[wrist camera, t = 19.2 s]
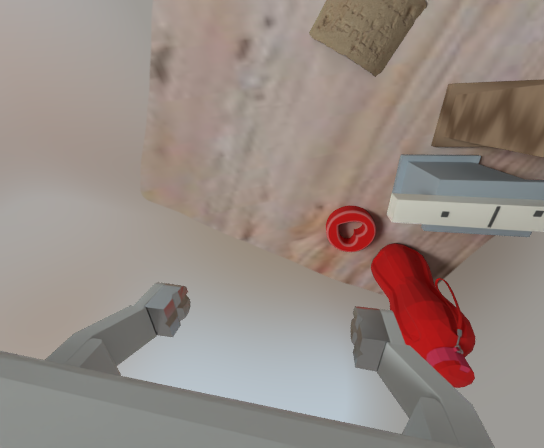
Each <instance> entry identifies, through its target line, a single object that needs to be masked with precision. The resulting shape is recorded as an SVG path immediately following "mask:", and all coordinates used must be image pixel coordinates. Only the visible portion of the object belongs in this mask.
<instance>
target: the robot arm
mask: <svg viewBox="0 0 544 448" xmlns="http://www.w3.org/2000/svg"><path fill="white" fill-rule="evenodd" d="M187 292H188V291H187V288H186V287H185V286H181V285H174V284H166V283H159V282H158V283H155V284H154V285H153V286H152V287H151V288H150V289H149V290H148V291H147V292H146V293H145V294H144V295H143V296H142V297H141V299H140V300H139V301H138V302H137V303H136V304H135V305H134V306H129V307H127V308H125V309H123V310H121V311H119V312H117V313H114V314H112V315H110V316H108V317H106V318H104V319H102V320H100V321H98V322H96V323H94V324H92V325H90V326H88V327H86V328H84V329H82V330H80V331H78V332H76V333H74V334H73V335H72V336H71V337H70V338H68V339H67V340H66V341H65V342H64V343H63V344H62V345H61V346H60V347H58V348H57V349H56V350H55V351H54V352H53V353H52V354H51V355H50V356H49V357H48V358H46V359H45V360H42V359H36V358H32V357H27V356H22V355H18V354H13V353H8V352H3V351H0V448H495V447H494V445H493V443H492V441H491V439H490V437H489V435H488V434H487V432H486V430H485V428H484V426H483V425H482V422H481V420H480V418H479V416H478V414H477V413H476V411H475V409H474V407H473V405H472V404H471V403H470V402H469V401H468V400H467V399H466V398H465V397H464V396H463V395H462V394H461V393H459V392H458V391H457V390H456V389H455V388H454V387H453V386H452V385H451V384H450V383H449V382H448V381H447V380H446V379H445V378H444V377H443V376H442V375H441V374H439V373H438V372H437V371H436V370H435V369H434V368H433V367H432V366H431V365H430V364H429V363H428V362H427V361H426V360H425V359H424V358H423V357H421V356H420V355H419V354H418V353H417V352H416V351H415V350H414V349H413V348H412V347H411V346H409V345H406V344H405V341H404V339H403V336H402V333H401V331H400V328H399V326H398V323H397V320H396V318H395V315H394V312H393V311H392V310H383V309H374V308H365V307H356V306H355V308H354V311H353V315H354V318H353V319H352V321H351V340H352V343H353V344H354V350H353V355H354V361H355V367H356V368H361V369H366V370H372V371H377V373H378V374H379V376H380V378H381V379H382V380H383V382H384V383H385V385H386V386H387V387H388V389H389V390H390V392H391V393H392V395H393V396H394V397H395V399H396V400H397V402H398V403H399V405H400V406H401V407H402V409H403V410H404V412H405V413H406V414H407V416H408V417H409V421H408V423H407V425H406V427H405V429H404V431H403V433H402V434H398V433H393V432H389V431H383V430H379V429H374V428H369V427H364V426H360V425H355V424H350V423H345V422H340V421H335V420H330V419H325V418H321V417H316V416H311V415H306V414H302V413H296V412H292V411H287V410H282V409H277V408H273V407H268V406H263V405H258V404H254V403H249V402H244V401H239V400H234V399H230V398H225V397H220V396H215V395H210V394H205V393H201V392H195V391H191V390H186V389H181V388H176V387H172V386H167V385H162V384H157V383H152V382H147V381H143V380H138V379H133V378H128V377H123V376H121V374H120V372H119V370H118V368H117V365H118V364H120V363H121V362H122V361H124V360H125V359H127V358H128V357H129V356H130V355H132V354H133V353H134V352H136V351H137V350H139V349H140V348H141V347H143V346H144V345H145V344H146V343H148V342H149V341H150V340H152V339H153V338H155V337H156V335H160V336H168V337H173V336H174V334H175V333H176V331H177V330H178V328H179V327H180V321H181V320H183V319H184V318H185V317H186V316H187V314H188V312H189V309H190V299H189V298H188V297H187V295H186V294H187Z"/></svg>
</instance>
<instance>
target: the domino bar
mask: <svg viewBox="0 0 544 448" xmlns="http://www.w3.org/2000/svg"><path fill="white" fill-rule="evenodd" d="M387 216H388V217H389V219H390V220H391V222H395V223H411V224H426V225H441V226H457V227H472V228H487V229H502V230H518V231H533V232H544V200H532V199H509V198H487V197H465V196H443V195H421V194H398V193H392V195H391V199H390V203H389V207H388V211H387Z"/></svg>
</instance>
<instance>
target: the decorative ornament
mask: <svg viewBox="0 0 544 448" xmlns="http://www.w3.org/2000/svg"><path fill="white" fill-rule="evenodd" d="M348 222H360V223H362V226H361V227H360V228H358V229H354V234H353V236H352V237H351V238H343V237H342V236H341V235H340V233H339V225H340V224H343V223H348ZM326 234H327V238H328V240H329V242H330V244H331V245H332V246H334V247H335V248H337V249H339V250H341V251H345V252H356V251H360V250H362V249H364V248H366V247H367V246H368V245H369V244H370V243H371V242H372V241H373V239H374V237H375V234H376V226H375V223H374V221H373V219H372V217H371V215H370V214H369V213H368V212H367V211H366V210H365V209H363V208H360V207H357V206H344V207H341V208H339V209H337V210H335V211H334V212H333V213H332V214H331V215H330V216H329V218H328V220H327V223H326Z"/></svg>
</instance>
